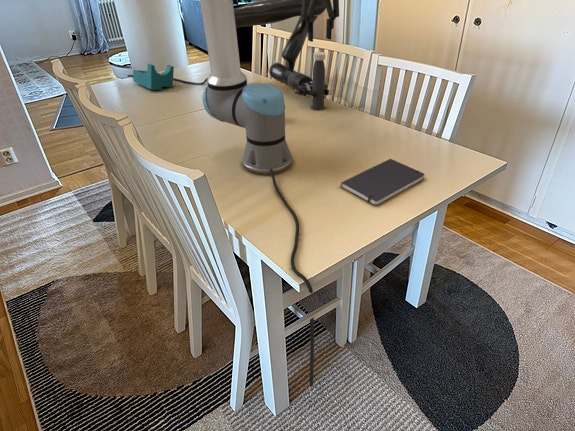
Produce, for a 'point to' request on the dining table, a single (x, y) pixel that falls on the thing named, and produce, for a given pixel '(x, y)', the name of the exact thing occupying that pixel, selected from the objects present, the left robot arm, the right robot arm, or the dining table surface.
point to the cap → (319, 56)
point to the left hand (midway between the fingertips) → (322, 94)
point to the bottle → (318, 84)
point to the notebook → (382, 181)
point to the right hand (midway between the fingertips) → (319, 39)
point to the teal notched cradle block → (154, 77)
